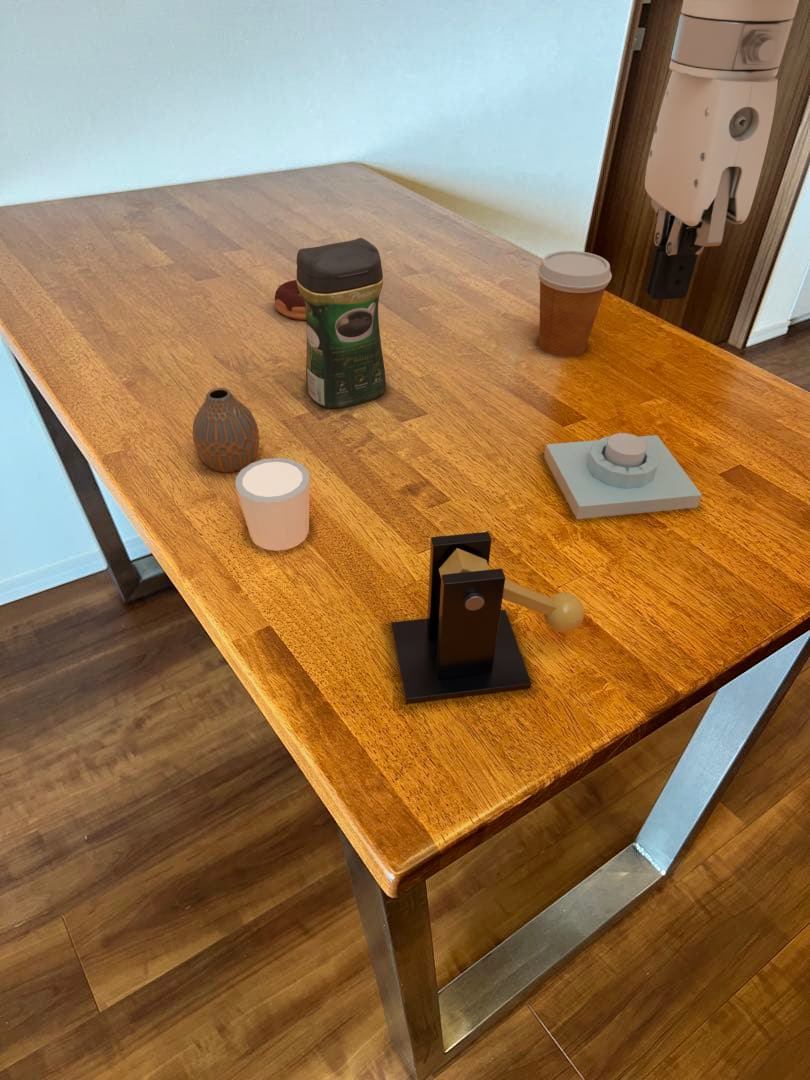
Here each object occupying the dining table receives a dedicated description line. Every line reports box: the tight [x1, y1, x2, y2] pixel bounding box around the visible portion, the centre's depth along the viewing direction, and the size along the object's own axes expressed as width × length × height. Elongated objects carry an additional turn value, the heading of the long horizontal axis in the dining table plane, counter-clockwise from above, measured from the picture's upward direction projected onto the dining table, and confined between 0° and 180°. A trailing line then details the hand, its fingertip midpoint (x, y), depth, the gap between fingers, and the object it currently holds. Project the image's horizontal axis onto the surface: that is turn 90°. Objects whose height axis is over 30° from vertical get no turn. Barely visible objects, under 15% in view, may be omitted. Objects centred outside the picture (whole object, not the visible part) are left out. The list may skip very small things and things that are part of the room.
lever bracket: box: [390, 531, 532, 705], centre depth 56 cm, size 10×8×12 cm
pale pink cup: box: [235, 457, 311, 552], centre depth 70 cm, size 7×7×7 cm
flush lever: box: [439, 548, 585, 634], centre depth 56 cm, size 13×3×3 cm
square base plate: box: [543, 434, 703, 520], centre depth 77 cm, size 13×11×4 cm
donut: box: [274, 279, 306, 321], centre depth 109 cm, size 10×10×4 cm
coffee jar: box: [295, 237, 387, 410], centre depth 86 cm, size 10×8×19 cm
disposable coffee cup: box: [537, 250, 613, 357], centre depth 98 cm, size 10×10×12 cm
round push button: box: [604, 432, 647, 468], centre depth 76 cm, size 4×4×2 cm
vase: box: [192, 387, 260, 473], centre depth 78 cm, size 7×7×9 cm
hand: (665, 294), depth 64 cm, fingers closed
